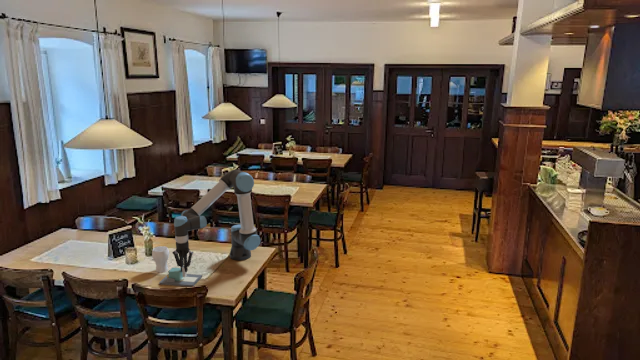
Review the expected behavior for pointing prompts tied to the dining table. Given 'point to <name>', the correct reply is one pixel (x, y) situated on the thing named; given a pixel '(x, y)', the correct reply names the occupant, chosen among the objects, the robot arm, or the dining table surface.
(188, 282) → the header board
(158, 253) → the cup
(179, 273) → the plug block
